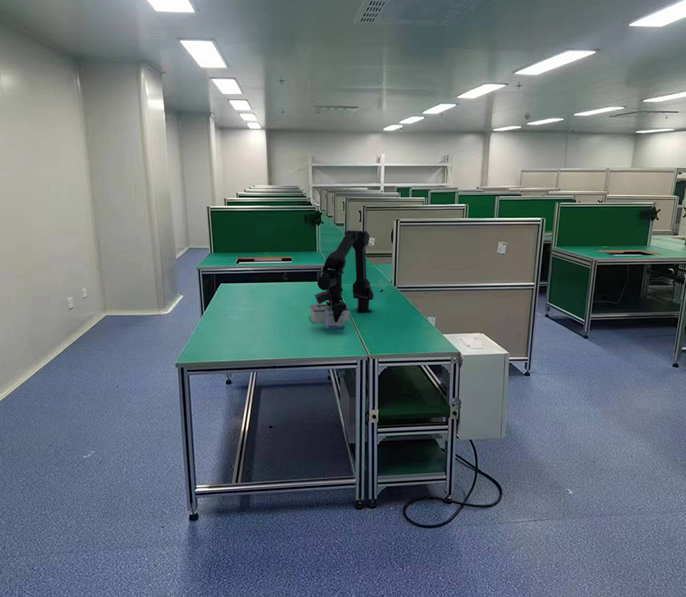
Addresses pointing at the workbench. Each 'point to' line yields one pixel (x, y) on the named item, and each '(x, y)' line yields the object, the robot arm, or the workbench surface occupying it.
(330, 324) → the medicine box
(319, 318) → the open box
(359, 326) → the workbench surface
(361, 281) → the robot arm
